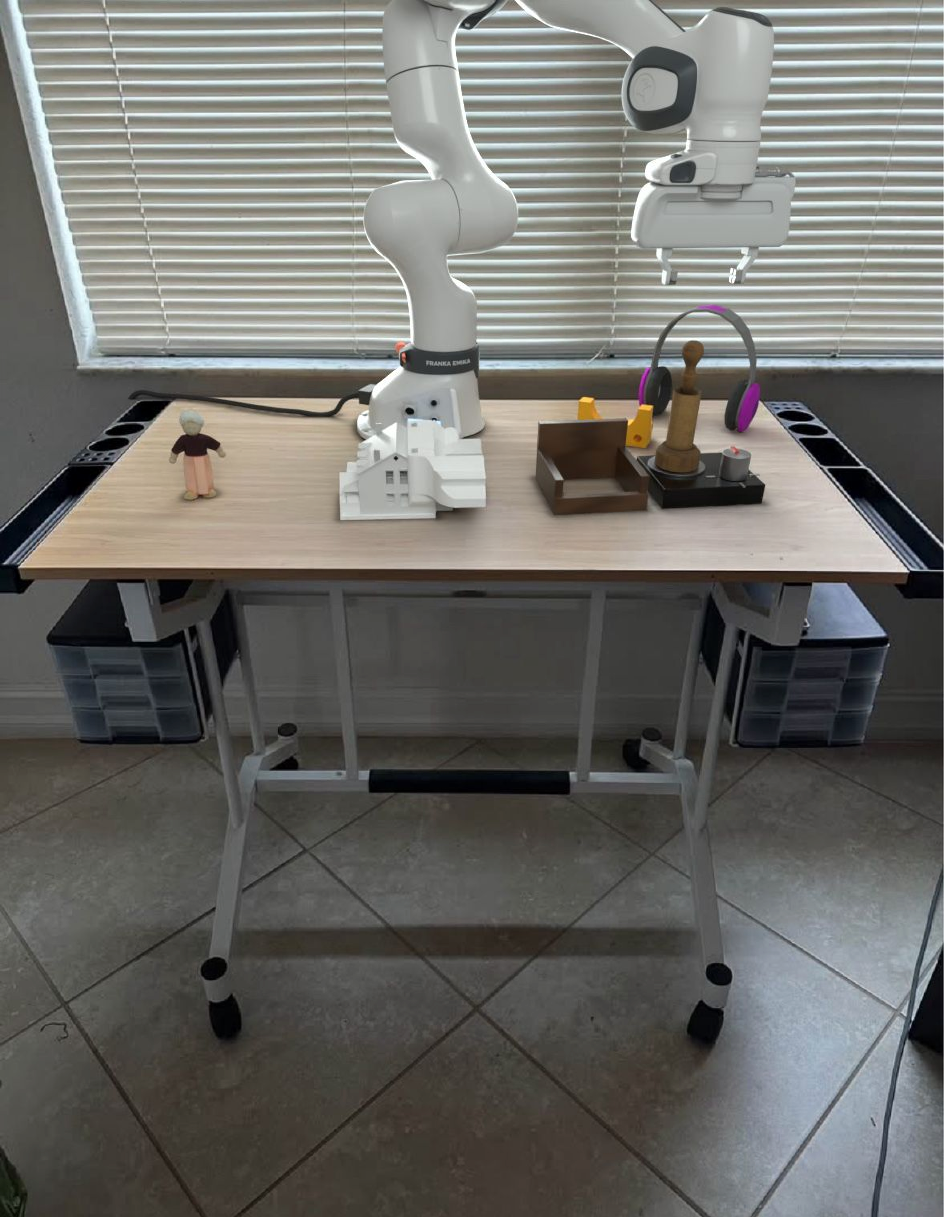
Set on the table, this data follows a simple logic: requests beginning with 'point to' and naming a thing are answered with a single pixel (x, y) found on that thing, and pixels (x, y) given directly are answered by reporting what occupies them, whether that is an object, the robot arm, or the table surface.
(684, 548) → the table surface
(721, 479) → the hob
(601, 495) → the spice rack
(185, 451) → the grandmother figurine
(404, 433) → the house model
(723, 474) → the hob knob
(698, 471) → the burner
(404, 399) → the robot arm
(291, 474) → the table surface
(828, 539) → the table surface
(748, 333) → the headphones
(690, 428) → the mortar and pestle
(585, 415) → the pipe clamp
